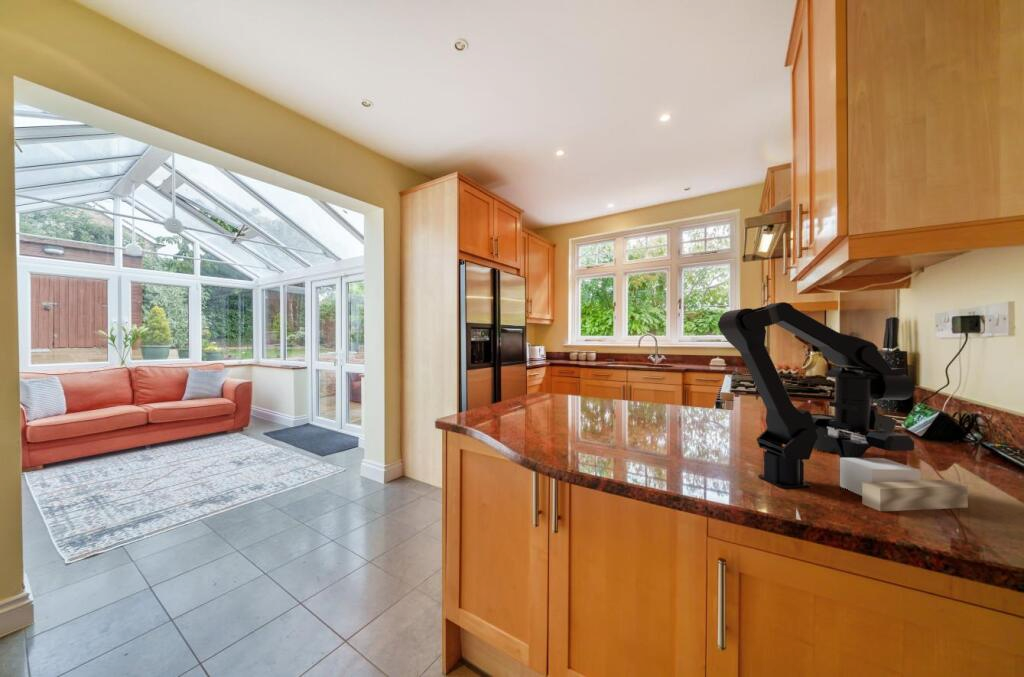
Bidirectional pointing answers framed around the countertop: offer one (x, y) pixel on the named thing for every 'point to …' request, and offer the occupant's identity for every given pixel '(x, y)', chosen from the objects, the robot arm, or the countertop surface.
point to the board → (914, 495)
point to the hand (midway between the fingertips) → (850, 470)
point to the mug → (824, 439)
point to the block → (873, 472)
